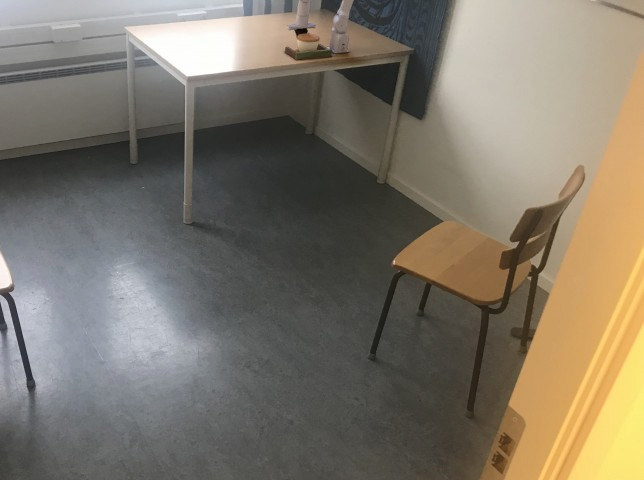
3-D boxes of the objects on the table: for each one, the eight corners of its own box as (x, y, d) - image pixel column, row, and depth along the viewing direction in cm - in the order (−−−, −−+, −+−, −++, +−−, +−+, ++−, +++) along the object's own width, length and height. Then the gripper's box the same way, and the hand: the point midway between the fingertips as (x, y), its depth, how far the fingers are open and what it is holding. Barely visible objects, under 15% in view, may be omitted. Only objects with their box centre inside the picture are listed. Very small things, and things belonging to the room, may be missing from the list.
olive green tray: (331, 56, 338) (332, 49, 336) (296, 59, 332) (297, 53, 330) (319, 48, 347) (319, 42, 345) (284, 52, 341) (285, 45, 340)
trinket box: (302, 48, 346) (305, 28, 341) (321, 53, 341) (324, 32, 336) (291, 53, 340) (293, 33, 334) (310, 58, 335) (312, 37, 329)
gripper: (312, 11, 342) (308, 41, 350) (285, 14, 337) (282, 43, 346) (319, 15, 336) (315, 45, 345) (292, 17, 332) (289, 47, 341)
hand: (299, 44), depth 345 cm, fingers closed, pressing on trinket box
